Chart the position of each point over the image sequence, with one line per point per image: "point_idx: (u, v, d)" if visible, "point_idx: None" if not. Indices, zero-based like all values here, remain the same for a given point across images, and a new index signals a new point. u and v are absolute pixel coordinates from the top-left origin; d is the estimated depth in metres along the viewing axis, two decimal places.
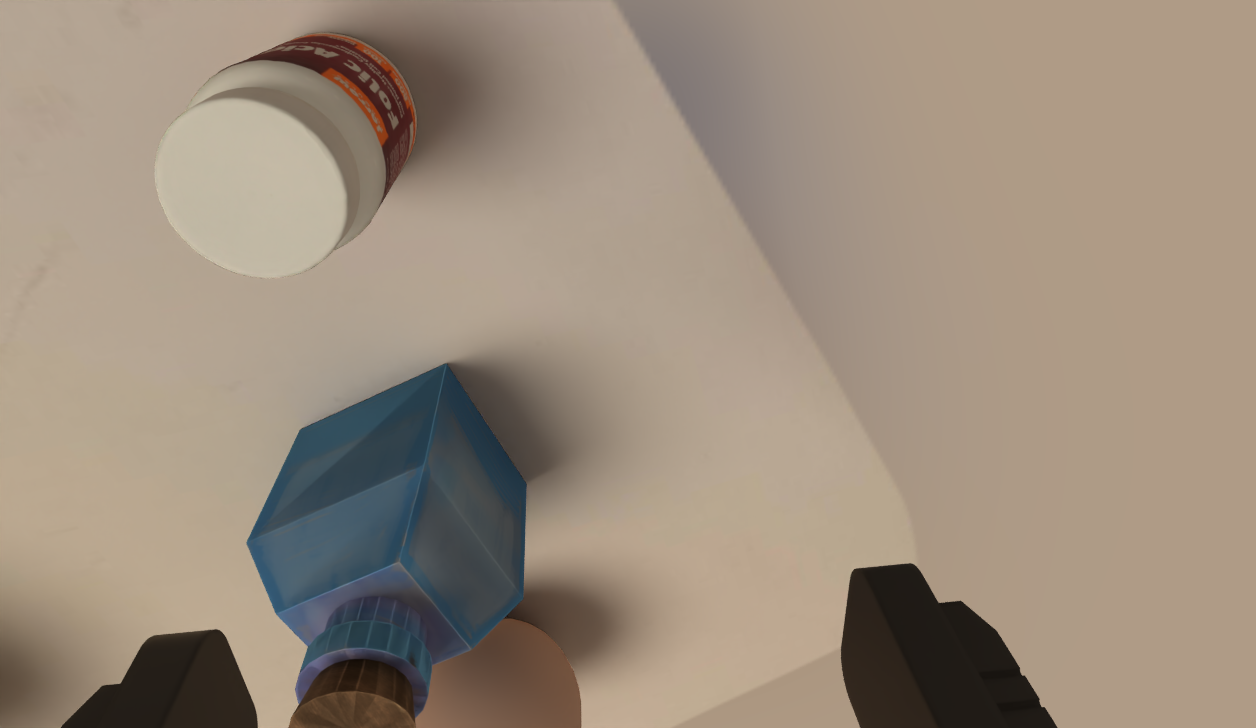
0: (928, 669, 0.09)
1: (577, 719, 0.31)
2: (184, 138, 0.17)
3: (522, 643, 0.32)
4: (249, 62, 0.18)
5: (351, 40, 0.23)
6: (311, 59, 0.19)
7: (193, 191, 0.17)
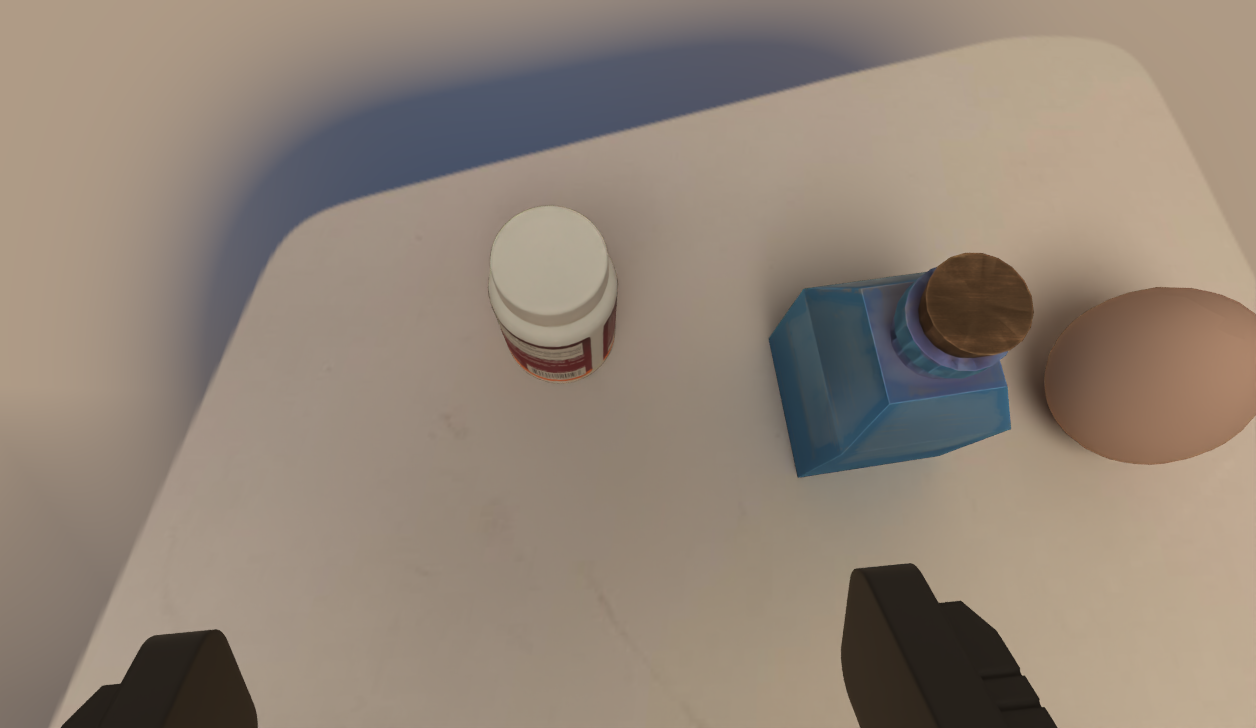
0: (928, 669, 0.09)
1: None
2: (504, 278, 0.27)
3: (1060, 337, 0.32)
4: (489, 275, 0.29)
5: None
6: None
7: (536, 290, 0.27)
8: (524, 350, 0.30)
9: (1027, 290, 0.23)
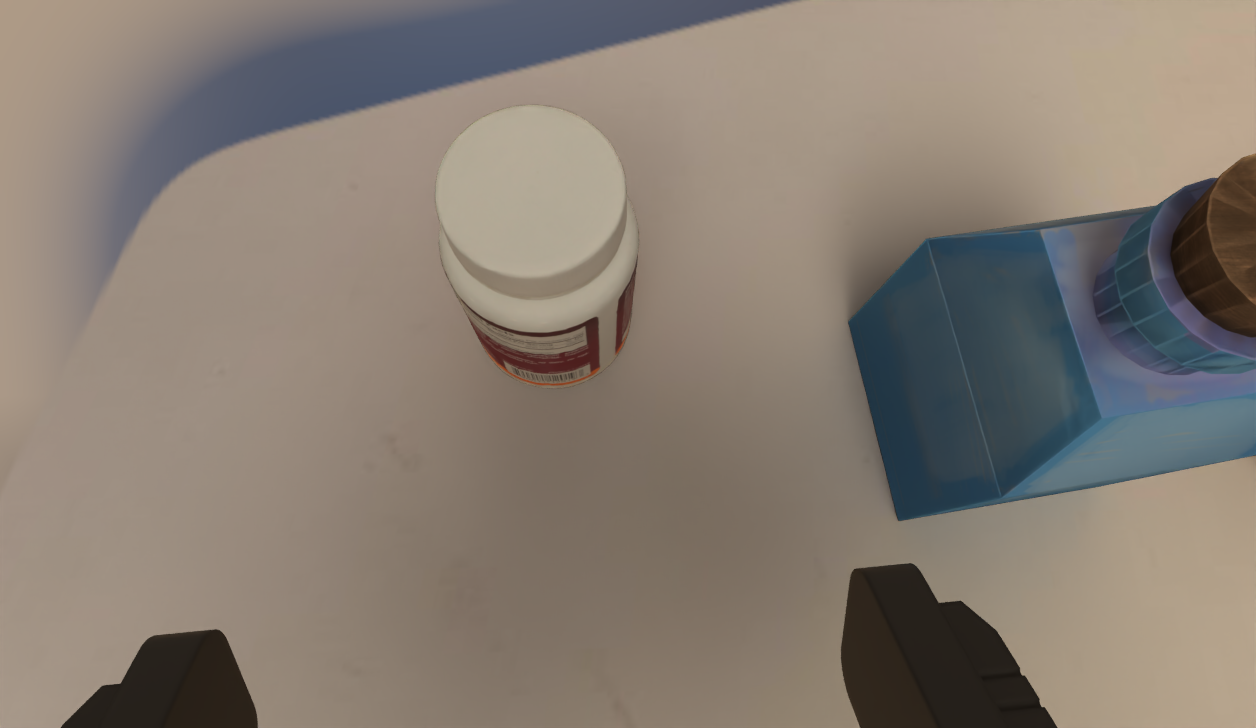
0: (928, 669, 0.09)
1: None
2: (458, 220, 0.16)
3: None
4: (440, 223, 0.19)
5: None
6: None
7: (509, 238, 0.16)
8: (497, 339, 0.20)
9: None
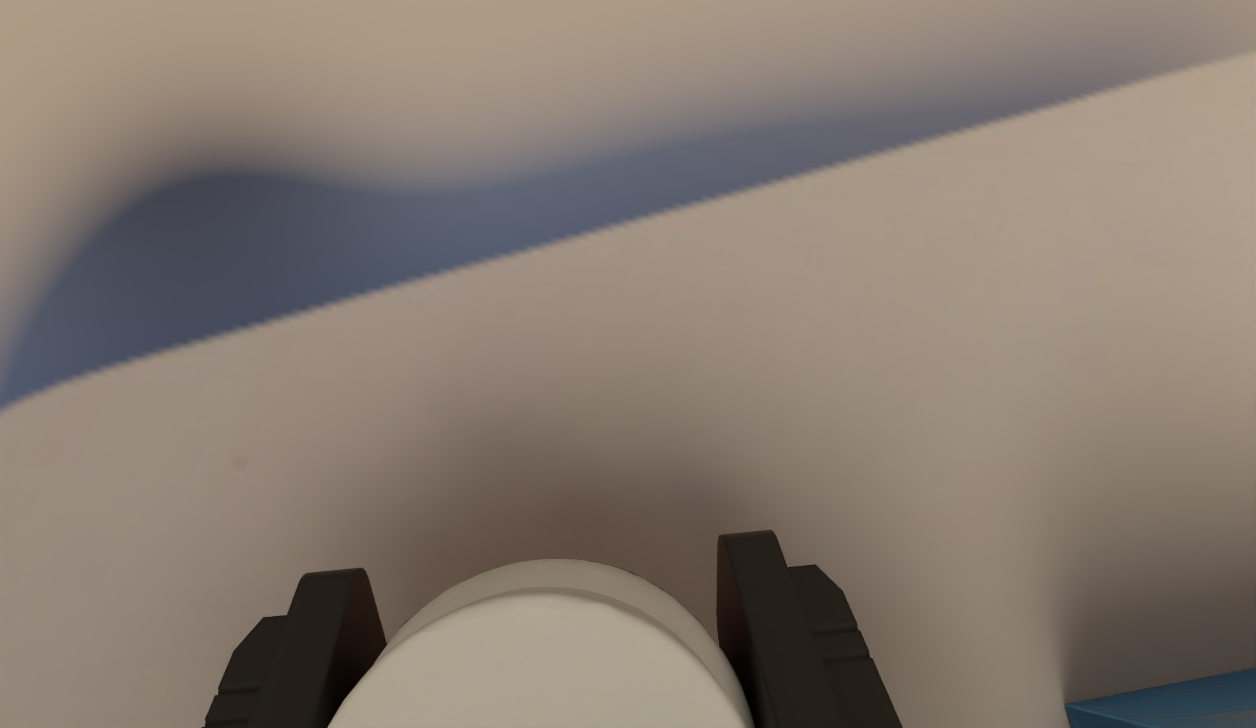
0: (763, 622, 0.09)
1: None
2: None
3: None
4: None
5: None
6: None
7: None
8: None
9: None
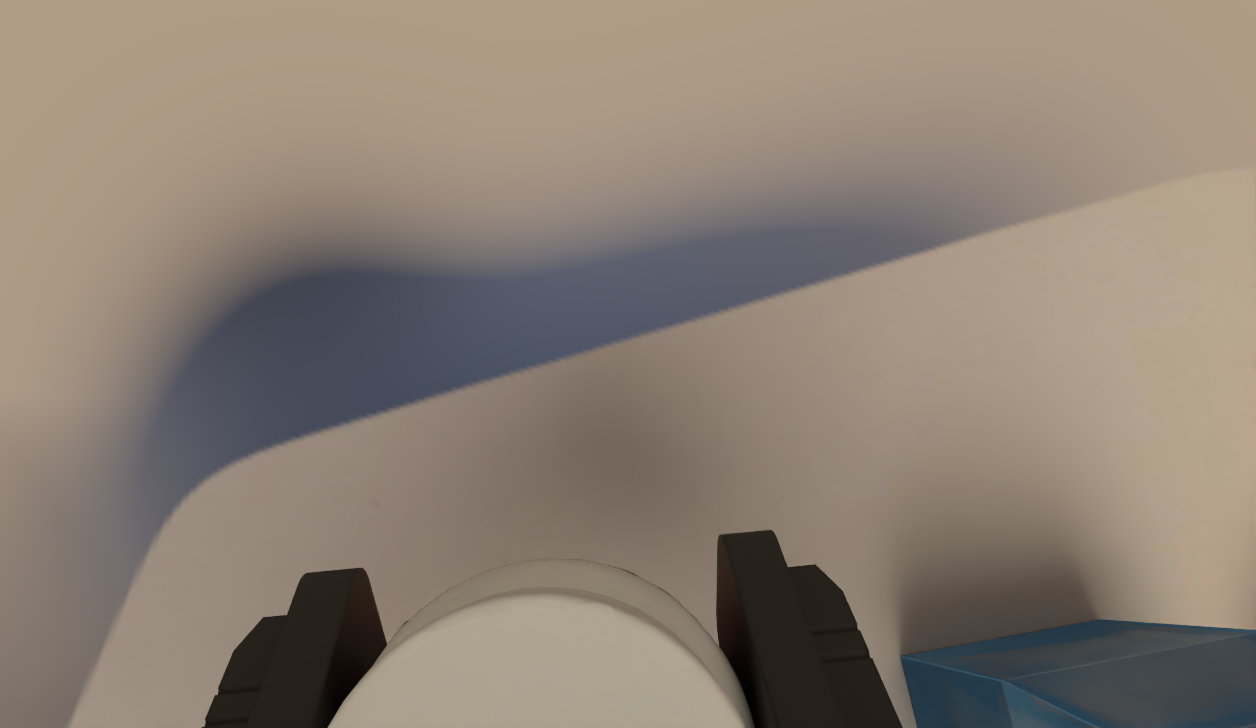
0: (764, 622, 0.09)
1: None
2: None
3: None
4: None
5: None
6: None
7: None
8: None
9: None
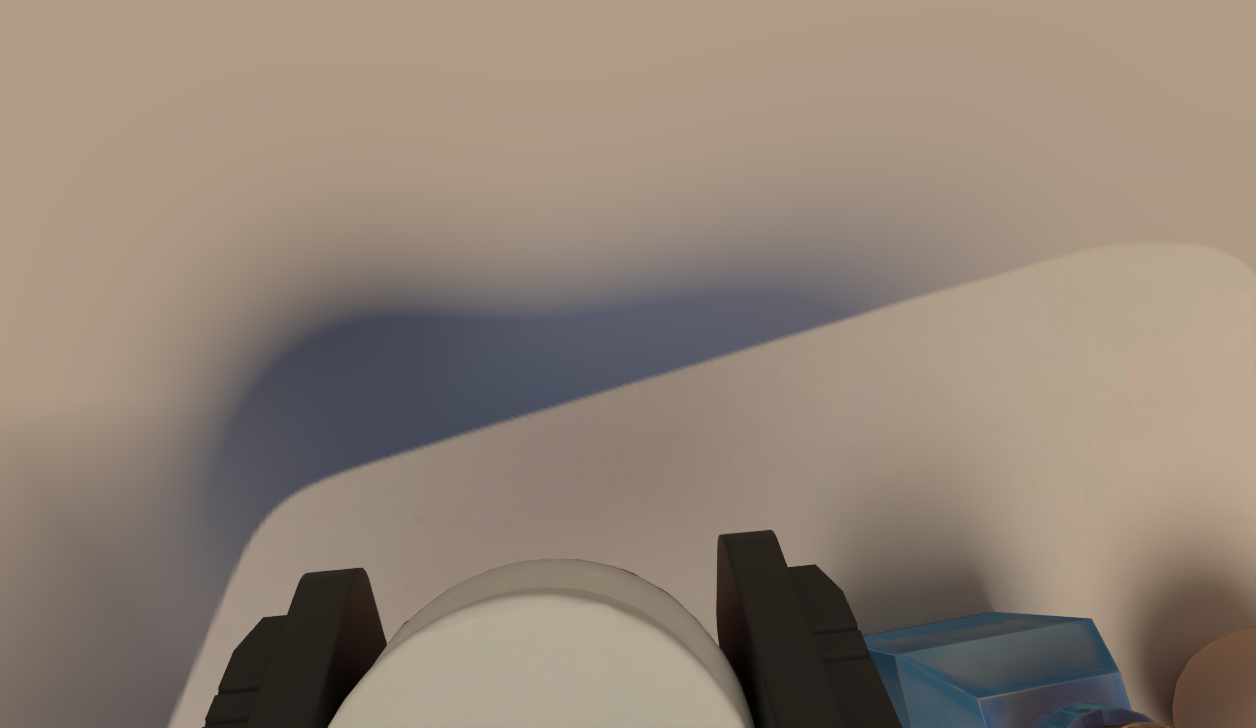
0: (763, 622, 0.09)
1: None
2: None
3: (1196, 670, 0.27)
4: None
5: None
6: None
7: None
8: None
9: None
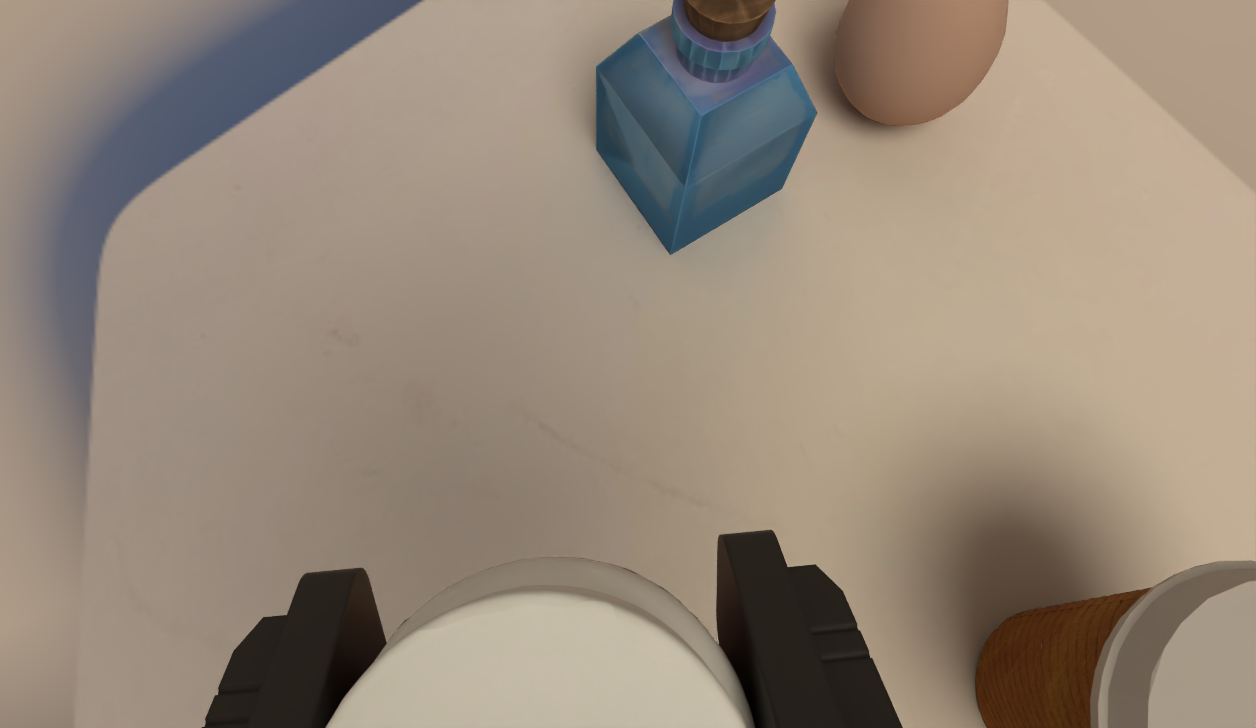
0: (763, 622, 0.09)
1: None
2: None
3: (835, 39, 0.35)
4: None
5: None
6: None
7: None
8: None
9: None
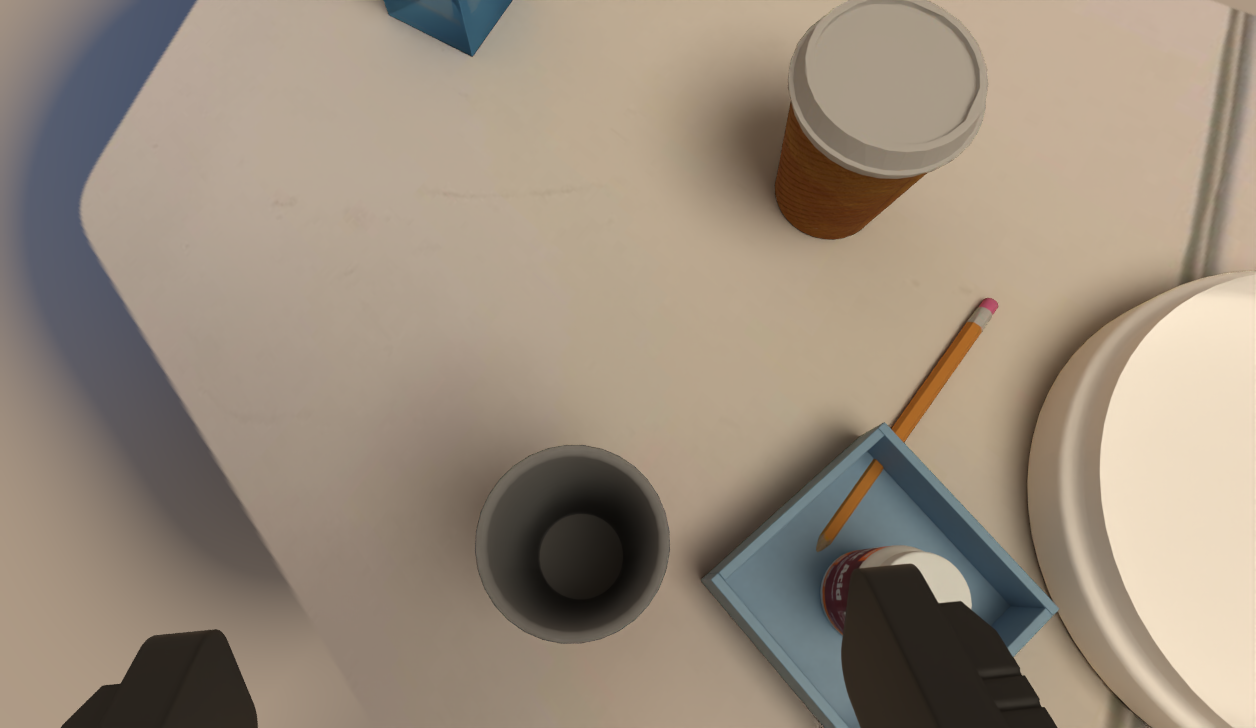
0: (928, 669, 0.09)
1: None
2: None
3: None
4: None
5: (830, 568, 0.41)
6: (852, 568, 0.38)
7: None
8: None
9: None
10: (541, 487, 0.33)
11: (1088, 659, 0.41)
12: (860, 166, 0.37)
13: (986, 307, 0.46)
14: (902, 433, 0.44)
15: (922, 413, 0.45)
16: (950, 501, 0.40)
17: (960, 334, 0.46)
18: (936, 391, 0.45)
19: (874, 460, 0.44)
